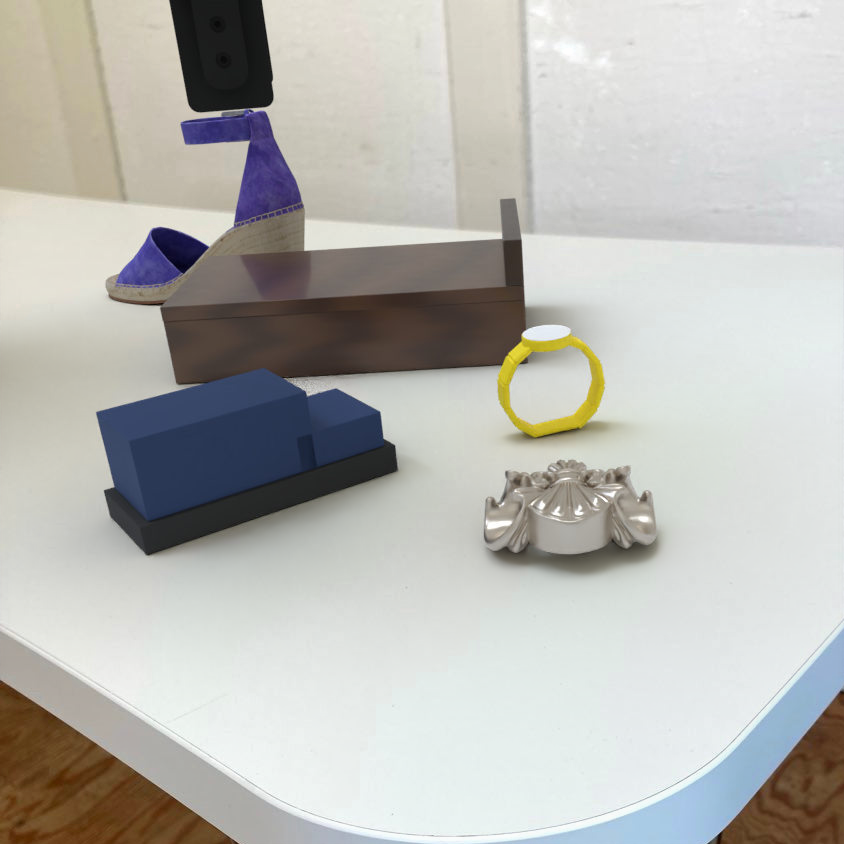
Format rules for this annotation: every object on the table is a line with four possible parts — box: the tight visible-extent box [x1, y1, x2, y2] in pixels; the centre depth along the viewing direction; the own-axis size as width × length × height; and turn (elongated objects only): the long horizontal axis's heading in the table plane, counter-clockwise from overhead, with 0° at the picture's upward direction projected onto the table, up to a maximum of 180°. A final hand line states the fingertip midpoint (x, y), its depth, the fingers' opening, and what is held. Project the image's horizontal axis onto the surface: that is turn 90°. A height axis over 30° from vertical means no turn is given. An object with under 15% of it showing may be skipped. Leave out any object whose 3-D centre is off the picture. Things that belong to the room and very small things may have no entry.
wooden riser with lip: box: [159, 197, 529, 385], centre depth 76 cm, size 24×14×8 cm, turn 91°
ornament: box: [483, 458, 658, 555], centre depth 49 cm, size 8×7×4 cm
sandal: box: [105, 109, 306, 305], centre depth 89 cm, size 8×20×15 cm, turn 64°
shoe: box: [95, 368, 399, 555], centre depth 55 cm, size 14×6×6 cm, turn 126°
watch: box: [496, 324, 606, 439], centre depth 60 cm, size 6×3×6 cm, turn 106°
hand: (236, 97), depth 45 cm, fingers open, 9 cm apart
